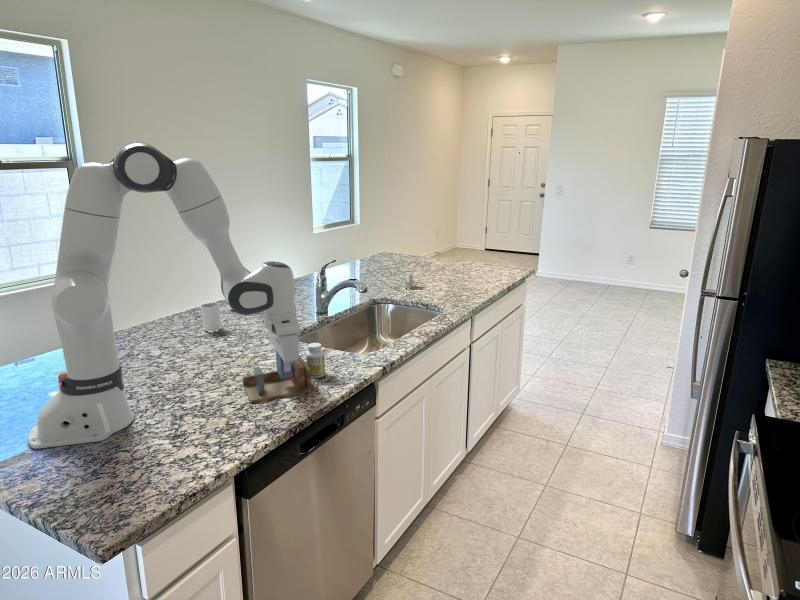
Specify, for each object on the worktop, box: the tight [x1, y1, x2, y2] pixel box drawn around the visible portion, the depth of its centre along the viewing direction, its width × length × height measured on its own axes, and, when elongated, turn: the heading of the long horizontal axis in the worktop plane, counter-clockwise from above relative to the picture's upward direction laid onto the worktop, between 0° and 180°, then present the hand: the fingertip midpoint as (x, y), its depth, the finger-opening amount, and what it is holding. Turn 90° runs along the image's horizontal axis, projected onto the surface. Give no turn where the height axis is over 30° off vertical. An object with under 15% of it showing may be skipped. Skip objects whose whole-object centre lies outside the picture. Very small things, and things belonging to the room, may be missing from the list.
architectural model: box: [402, 272, 414, 289], centre depth 265 cm, size 3×7×7 cm, turn 163°
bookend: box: [253, 366, 265, 395], centre depth 149 cm, size 2×6×6 cm, turn 26°
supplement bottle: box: [305, 342, 326, 379], centre depth 162 cm, size 5×5×10 cm
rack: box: [241, 355, 313, 404], centre depth 152 cm, size 17×12×7 cm
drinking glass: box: [199, 301, 221, 332], centre depth 202 cm, size 7×7×10 cm
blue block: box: [275, 351, 292, 379], centre depth 152 cm, size 3×6×6 cm, turn 26°
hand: (283, 366), depth 152 cm, fingers closed on blue block, 5 cm apart
